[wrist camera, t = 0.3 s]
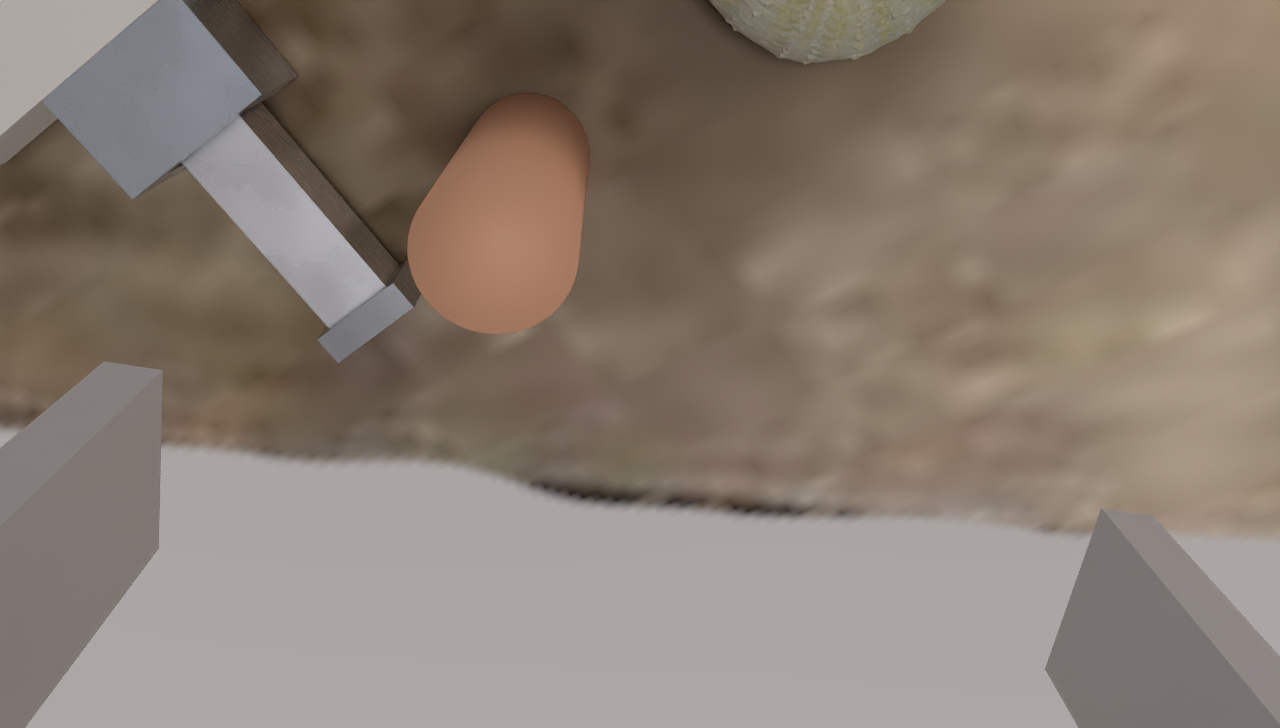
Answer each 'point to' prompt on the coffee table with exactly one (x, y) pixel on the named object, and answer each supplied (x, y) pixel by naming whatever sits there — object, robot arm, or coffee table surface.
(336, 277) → the lock pin
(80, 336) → the coffee table surface
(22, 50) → the dock
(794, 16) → the sea urchin shell
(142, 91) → the pin guide
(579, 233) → the peg
